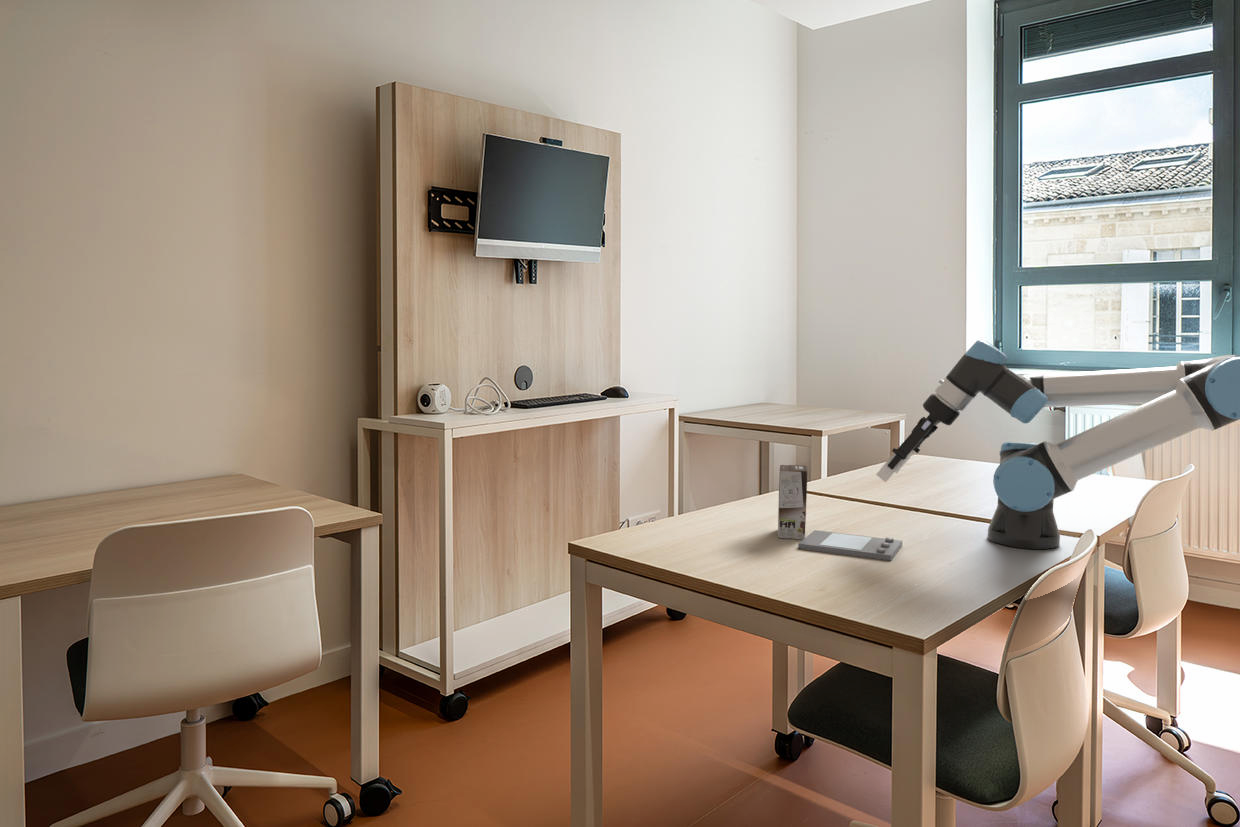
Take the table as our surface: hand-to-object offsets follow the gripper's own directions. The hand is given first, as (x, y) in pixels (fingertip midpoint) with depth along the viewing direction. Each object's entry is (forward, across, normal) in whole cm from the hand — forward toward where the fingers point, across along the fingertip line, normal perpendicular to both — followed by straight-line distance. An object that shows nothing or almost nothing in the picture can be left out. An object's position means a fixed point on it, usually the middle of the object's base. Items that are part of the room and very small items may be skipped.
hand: (886, 473), depth 198 cm
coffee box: (+24, +6, -7) cm, 26 cm away
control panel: (+16, +12, +5) cm, 20 cm away
